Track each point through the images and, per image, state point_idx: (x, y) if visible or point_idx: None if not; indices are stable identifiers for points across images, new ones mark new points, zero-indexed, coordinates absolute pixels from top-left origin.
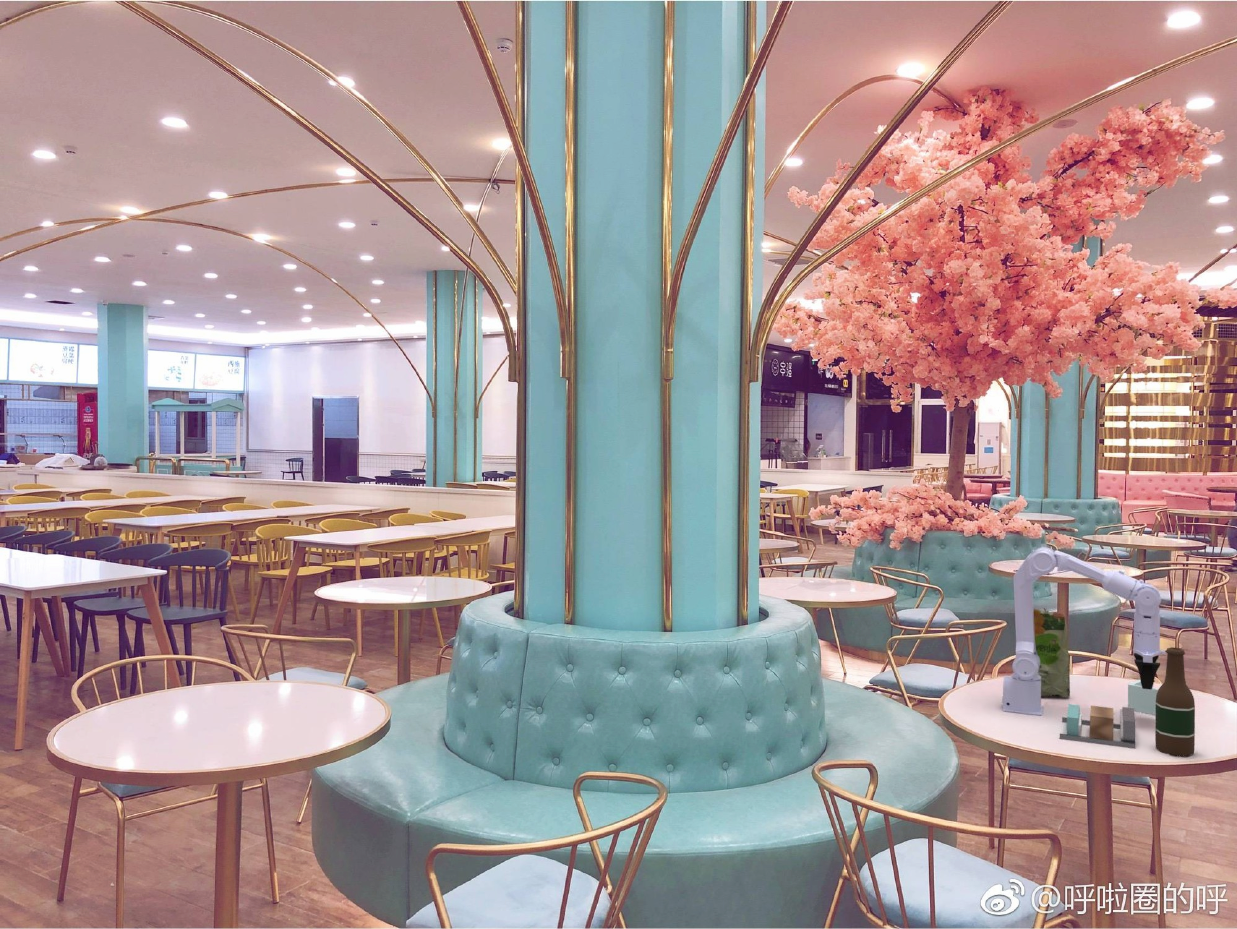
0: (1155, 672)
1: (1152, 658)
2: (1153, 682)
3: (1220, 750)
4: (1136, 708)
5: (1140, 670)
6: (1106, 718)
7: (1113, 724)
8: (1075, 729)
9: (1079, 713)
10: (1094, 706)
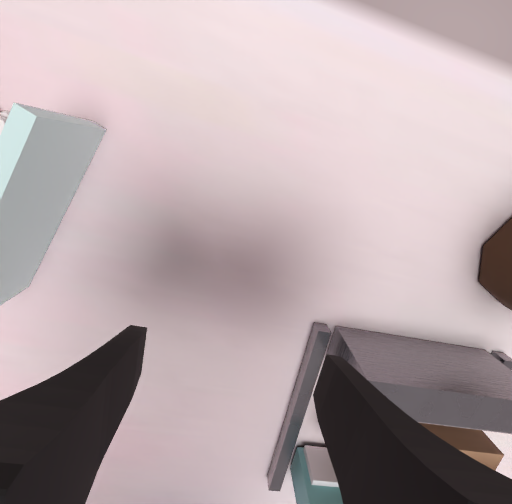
0: (448, 448)
1: (40, 499)
2: (367, 381)
3: (508, 101)
4: (32, 266)
5: None
6: (492, 468)
7: (314, 382)
8: None
9: (322, 486)
10: None
